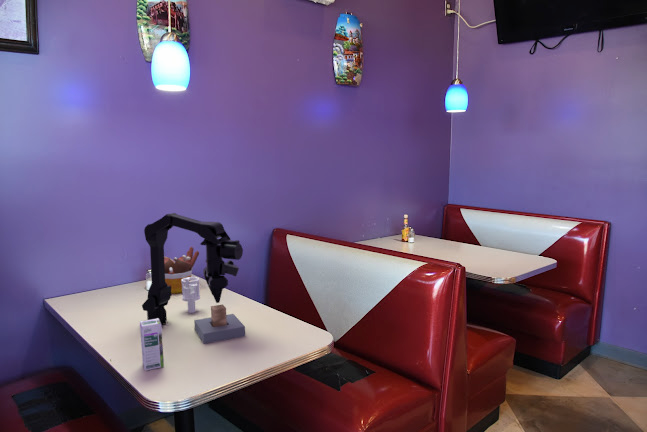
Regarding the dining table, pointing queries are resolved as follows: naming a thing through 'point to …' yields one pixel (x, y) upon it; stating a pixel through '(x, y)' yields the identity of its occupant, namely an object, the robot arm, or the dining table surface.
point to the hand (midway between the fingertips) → (215, 298)
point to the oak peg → (218, 315)
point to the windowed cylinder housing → (190, 292)
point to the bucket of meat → (179, 270)
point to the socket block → (219, 329)
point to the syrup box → (151, 344)
